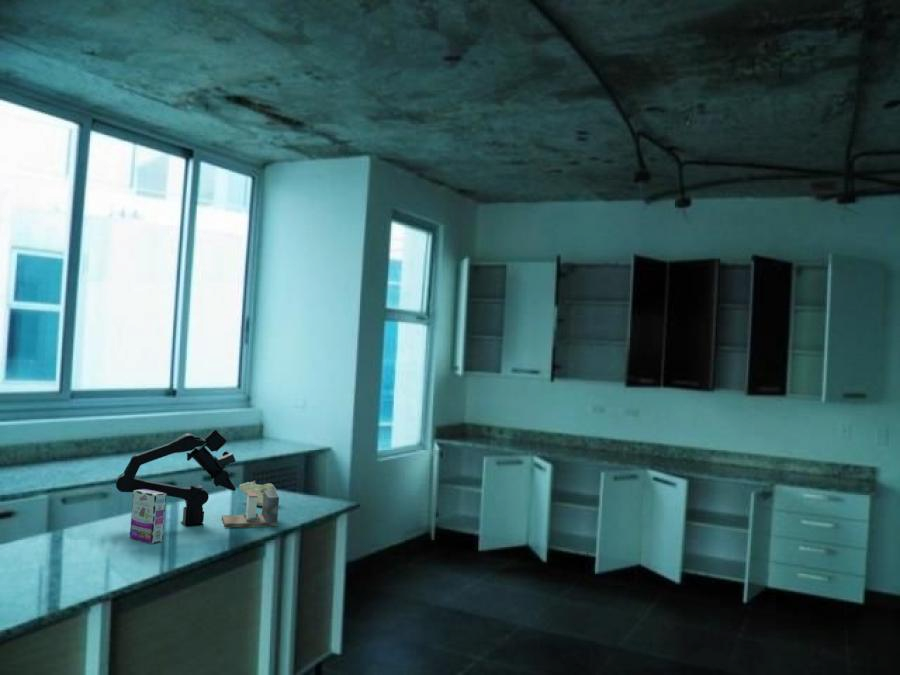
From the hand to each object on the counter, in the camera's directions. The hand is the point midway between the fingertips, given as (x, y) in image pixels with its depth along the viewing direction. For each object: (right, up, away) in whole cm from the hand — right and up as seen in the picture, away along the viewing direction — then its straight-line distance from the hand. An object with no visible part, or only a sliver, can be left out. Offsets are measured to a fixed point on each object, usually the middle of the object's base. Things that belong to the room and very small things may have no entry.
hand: (234, 490), depth 275 cm
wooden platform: (+5, -13, +2) cm, 14 cm away
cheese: (-2, -13, +34) cm, 36 cm away
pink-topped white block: (+5, -11, +2) cm, 13 cm away
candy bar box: (-21, -11, -30) cm, 38 cm away
